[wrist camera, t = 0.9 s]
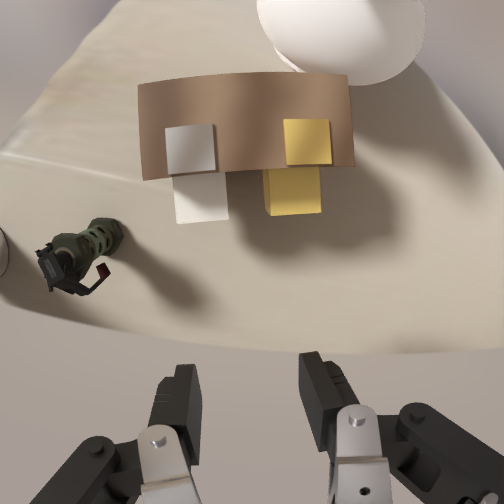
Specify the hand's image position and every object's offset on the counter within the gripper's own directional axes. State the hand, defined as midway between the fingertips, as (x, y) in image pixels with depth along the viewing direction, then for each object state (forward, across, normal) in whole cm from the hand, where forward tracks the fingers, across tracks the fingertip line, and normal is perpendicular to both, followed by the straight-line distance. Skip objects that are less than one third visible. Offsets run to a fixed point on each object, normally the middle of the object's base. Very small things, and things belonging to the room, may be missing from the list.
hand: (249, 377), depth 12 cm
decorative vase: (+27, +13, +25) cm, 39 cm away
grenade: (+27, -16, +1) cm, 32 cm away
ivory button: (+20, -3, +7) cm, 22 cm away
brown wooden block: (+27, +1, +11) cm, 30 cm away
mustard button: (+20, +5, +7) cm, 22 cm away
